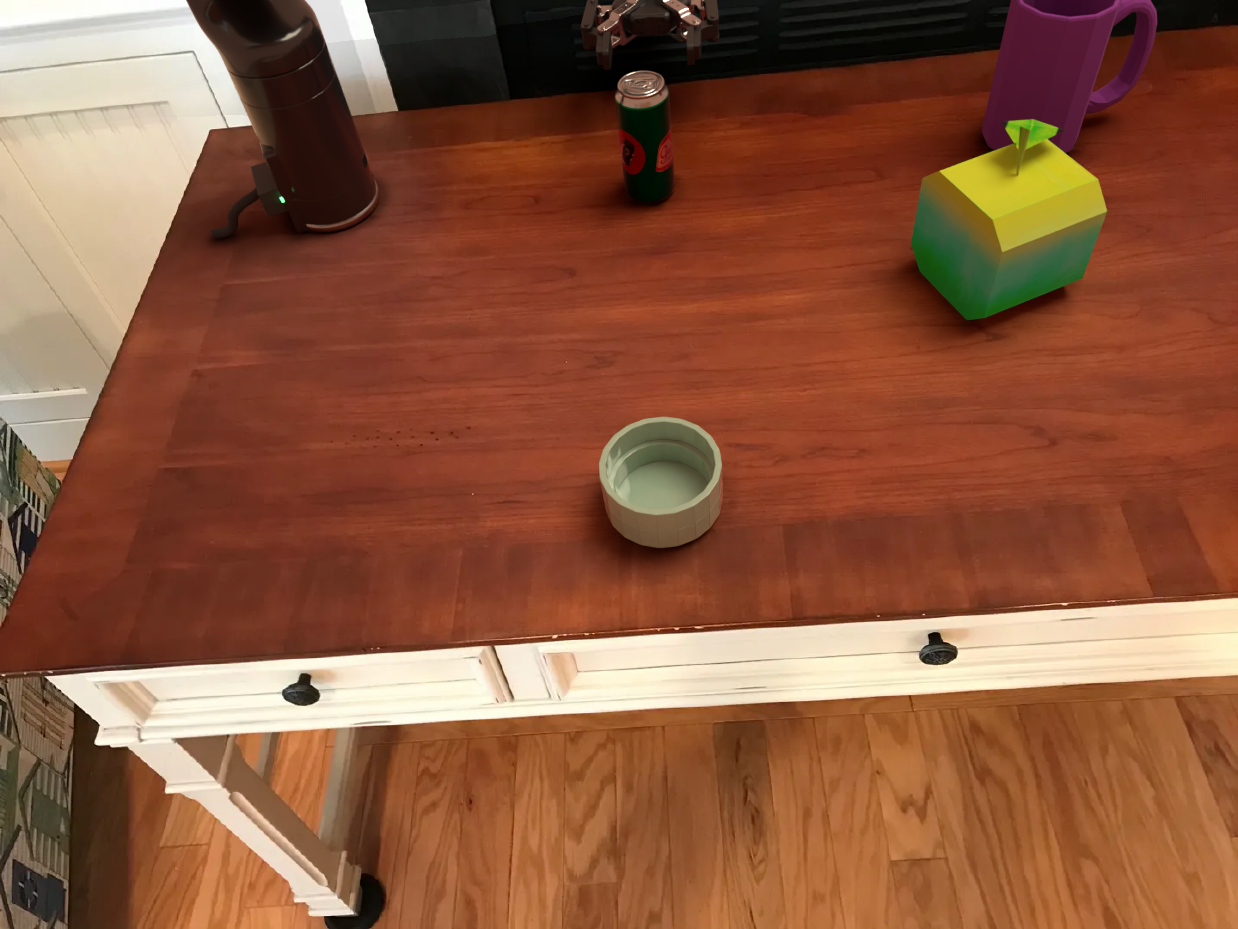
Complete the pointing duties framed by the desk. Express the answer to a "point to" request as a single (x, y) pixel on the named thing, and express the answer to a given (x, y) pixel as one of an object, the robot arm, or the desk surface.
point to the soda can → (645, 136)
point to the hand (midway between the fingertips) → (648, 58)
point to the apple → (1007, 223)
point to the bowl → (661, 481)
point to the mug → (1062, 64)
